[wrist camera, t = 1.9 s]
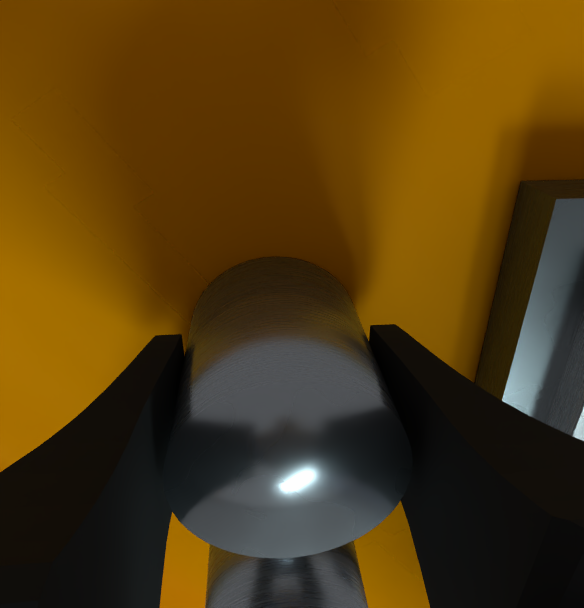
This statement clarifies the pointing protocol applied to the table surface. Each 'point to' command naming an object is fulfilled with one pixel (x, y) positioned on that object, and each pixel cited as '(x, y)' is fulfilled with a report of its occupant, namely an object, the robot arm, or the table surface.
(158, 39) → the table surface
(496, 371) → the dial scale
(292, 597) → the cylinder
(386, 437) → the cylinder
